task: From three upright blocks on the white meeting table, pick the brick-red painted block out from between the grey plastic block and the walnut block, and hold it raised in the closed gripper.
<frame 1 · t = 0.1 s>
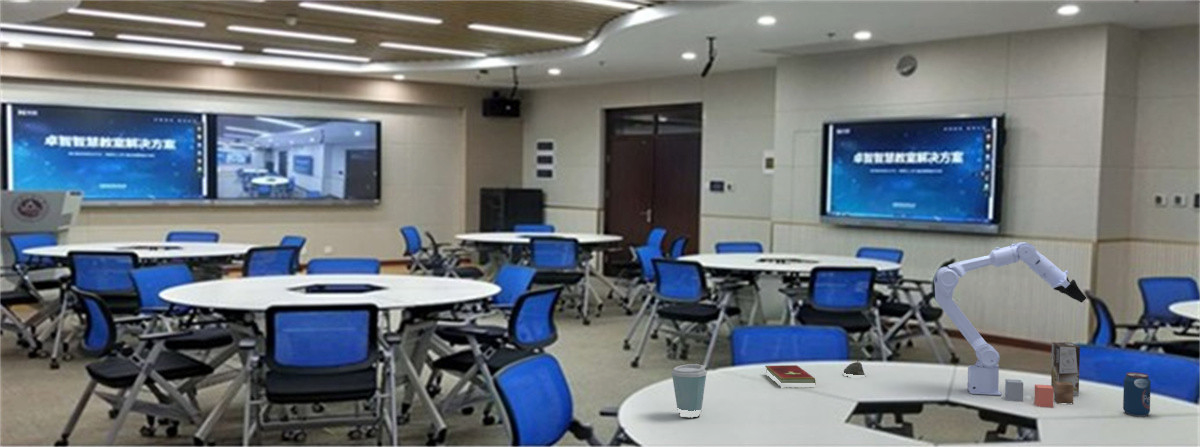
hand: (1080, 298, 293), 32 cm above the table, tool tilted 50°, fingers open, 7 cm apart
hardcover book: (789, 383, 319), on the table
walnut block: (1063, 402, 288), on the table
grey block: (1014, 399, 292), on the table
sword in stone: (853, 376, 328), on the table
disposable coffee cup: (688, 416, 273), on the table
red block: (1043, 405, 284), on the table
coffee box: (1064, 393, 301), on the table
soda can: (1136, 414, 274), on the table
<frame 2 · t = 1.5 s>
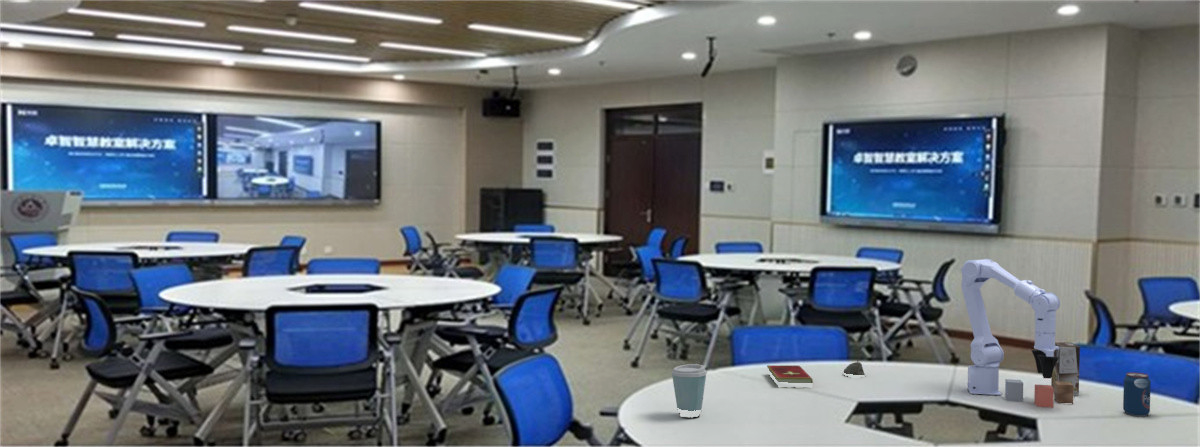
hand: (1044, 375, 284), 9 cm above the table, tool pointing down, fingers open, 7 cm apart
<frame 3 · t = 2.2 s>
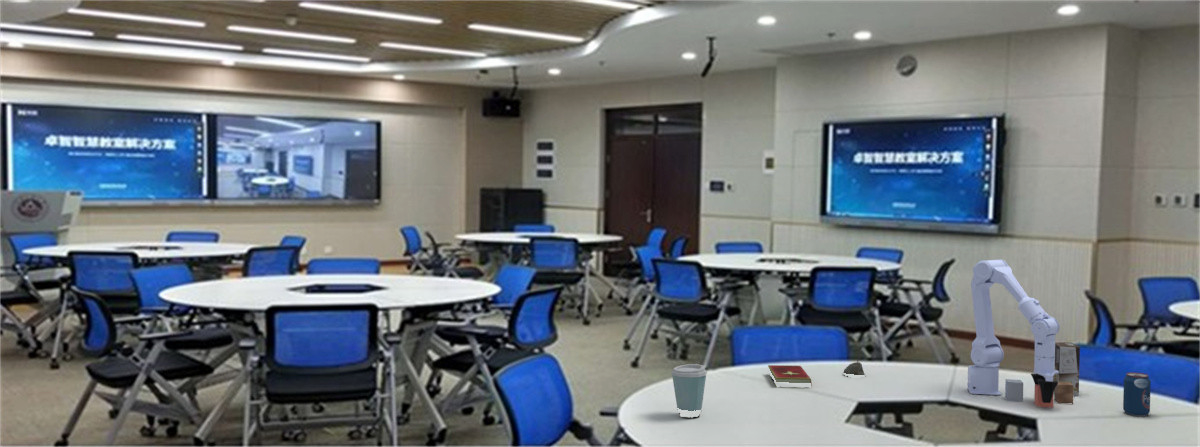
hand: (1043, 399, 284), 2 cm above the table, tool pointing down, fingers open, 7 cm apart
nothing on the table moved.
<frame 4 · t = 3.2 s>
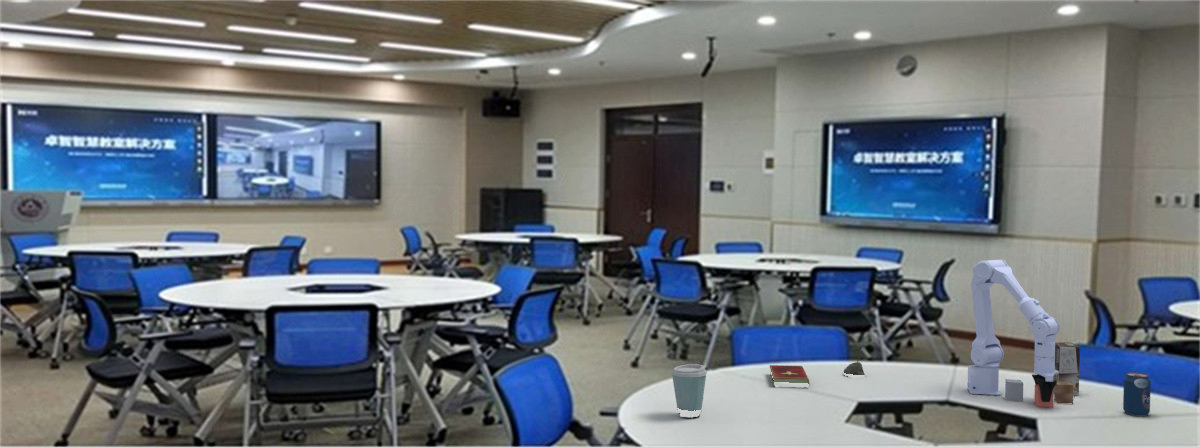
hand: (1043, 399, 284), 2 cm above the table, tool pointing down, fingers closed on red block, 4 cm apart
red block: (1043, 405, 284), on the table, touching gripper
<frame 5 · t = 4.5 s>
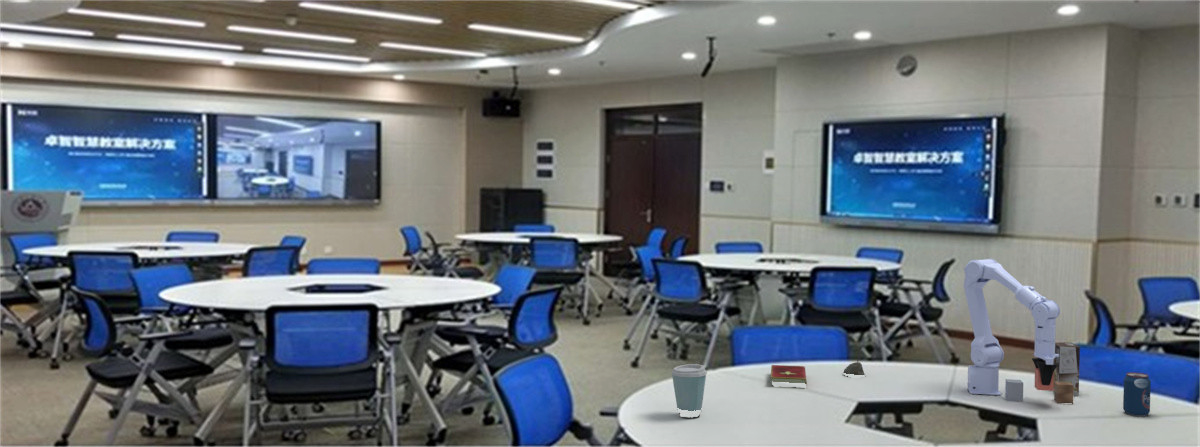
hand: (1043, 383, 284), 7 cm above the table, tool pointing down, fingers closed on red block, 4 cm apart
red block: (1043, 388, 284), point 5 cm above the table, touching gripper
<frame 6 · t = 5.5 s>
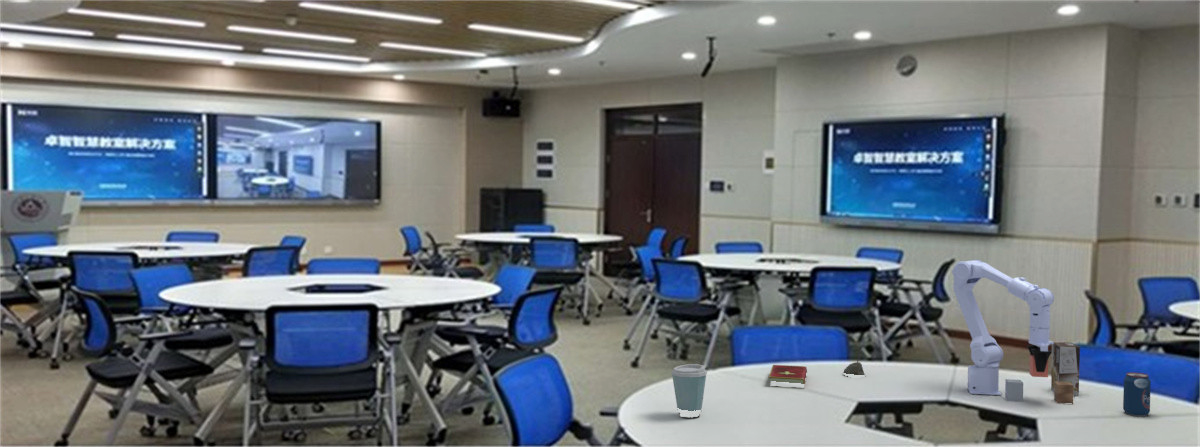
hand: (1038, 370, 287), 10 cm above the table, tool pointing down, fingers closed on red block, 4 cm apart
red block: (1038, 375, 287), point 9 cm above the table, touching gripper
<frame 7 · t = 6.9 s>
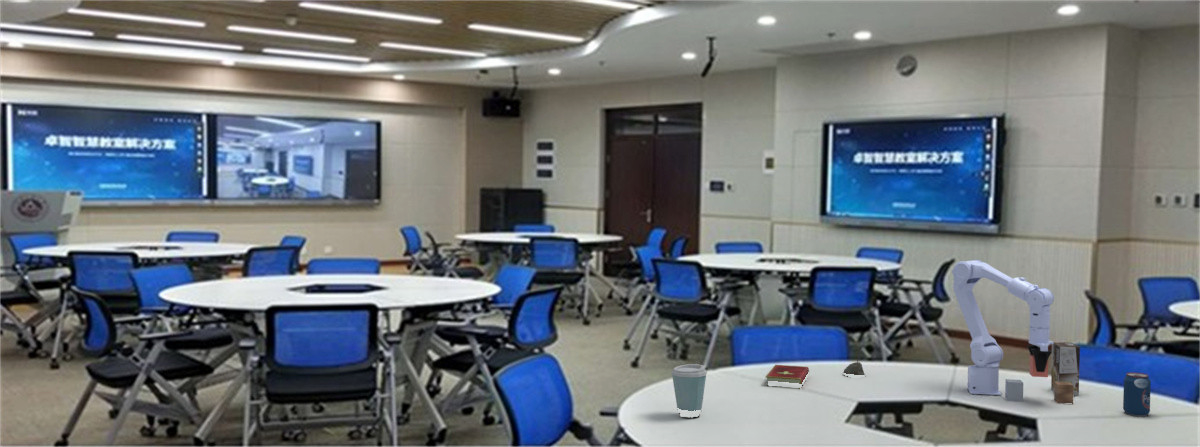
hand: (1038, 370, 287), 10 cm above the table, tool pointing down, fingers closed on red block, 4 cm apart
red block: (1038, 375, 287), point 9 cm above the table, touching gripper
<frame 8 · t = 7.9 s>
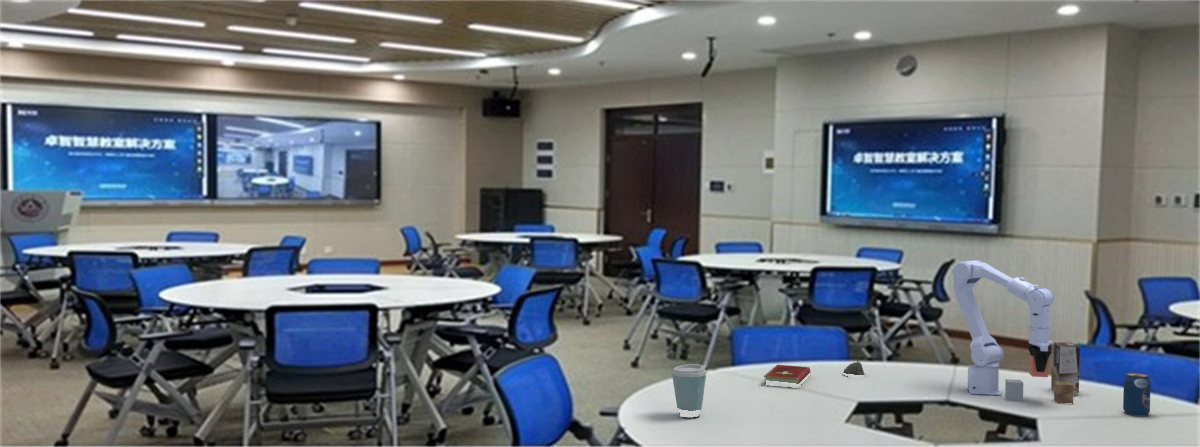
hand: (1038, 370, 287), 10 cm above the table, tool pointing down, fingers closed on red block, 4 cm apart
red block: (1038, 375, 287), point 9 cm above the table, touching gripper
at the end: red block point 8.7 cm above the table; grey block moved 0.1 cm from its start; walnut block moved 0.1 cm from its start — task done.
